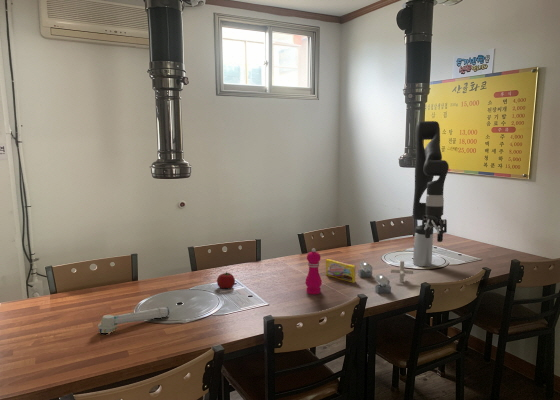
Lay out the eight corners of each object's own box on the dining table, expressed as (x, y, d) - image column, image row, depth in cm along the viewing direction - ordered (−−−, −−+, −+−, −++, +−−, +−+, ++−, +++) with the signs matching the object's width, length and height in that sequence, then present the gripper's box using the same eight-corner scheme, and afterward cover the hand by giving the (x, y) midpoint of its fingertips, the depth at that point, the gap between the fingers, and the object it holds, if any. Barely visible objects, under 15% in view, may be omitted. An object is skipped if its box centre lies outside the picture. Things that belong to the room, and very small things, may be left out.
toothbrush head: (170, 309, 155) (100, 317, 141) (169, 325, 156) (99, 336, 141) (165, 304, 160) (97, 312, 145) (164, 320, 160) (96, 330, 146)
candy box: (325, 275, 202) (325, 259, 200) (327, 274, 203) (328, 258, 202) (353, 283, 191) (353, 266, 190) (355, 282, 192) (355, 265, 191)
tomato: (228, 283, 192) (227, 268, 191) (238, 287, 187) (238, 272, 186) (214, 287, 187) (213, 272, 186) (224, 292, 181) (224, 276, 180)
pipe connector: (413, 286, 186) (414, 265, 184) (391, 284, 188) (392, 264, 186) (411, 278, 196) (412, 258, 194) (389, 277, 198) (390, 257, 196)
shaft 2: (373, 289, 183) (373, 274, 182) (385, 288, 184) (386, 273, 183) (378, 294, 177) (378, 279, 176) (391, 293, 178) (391, 278, 177)
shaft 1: (357, 275, 201) (358, 261, 200) (369, 274, 202) (369, 260, 201) (362, 279, 195) (362, 265, 194) (374, 278, 196) (374, 264, 195)
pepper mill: (310, 296, 176) (311, 251, 173) (302, 290, 182) (302, 247, 179) (324, 293, 179) (325, 249, 176) (316, 287, 185) (316, 245, 182)
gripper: (452, 206, 177) (451, 242, 179) (431, 202, 191) (430, 236, 193) (438, 207, 175) (436, 243, 177) (417, 203, 189) (416, 237, 190)
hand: (433, 239), depth 185 cm, fingers open, 8 cm apart
